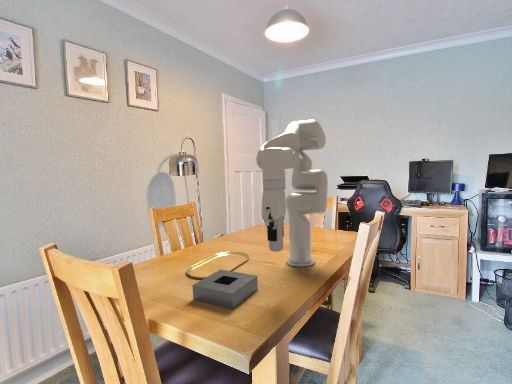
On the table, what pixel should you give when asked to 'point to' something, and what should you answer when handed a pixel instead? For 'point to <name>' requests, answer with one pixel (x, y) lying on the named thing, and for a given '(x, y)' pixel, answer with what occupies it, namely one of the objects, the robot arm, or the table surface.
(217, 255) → the gold oval ring
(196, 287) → the socket block
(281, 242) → the beverage can
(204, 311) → the table surface
